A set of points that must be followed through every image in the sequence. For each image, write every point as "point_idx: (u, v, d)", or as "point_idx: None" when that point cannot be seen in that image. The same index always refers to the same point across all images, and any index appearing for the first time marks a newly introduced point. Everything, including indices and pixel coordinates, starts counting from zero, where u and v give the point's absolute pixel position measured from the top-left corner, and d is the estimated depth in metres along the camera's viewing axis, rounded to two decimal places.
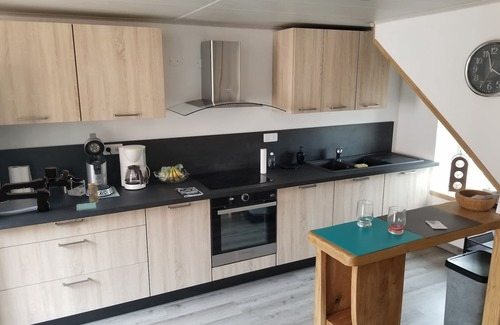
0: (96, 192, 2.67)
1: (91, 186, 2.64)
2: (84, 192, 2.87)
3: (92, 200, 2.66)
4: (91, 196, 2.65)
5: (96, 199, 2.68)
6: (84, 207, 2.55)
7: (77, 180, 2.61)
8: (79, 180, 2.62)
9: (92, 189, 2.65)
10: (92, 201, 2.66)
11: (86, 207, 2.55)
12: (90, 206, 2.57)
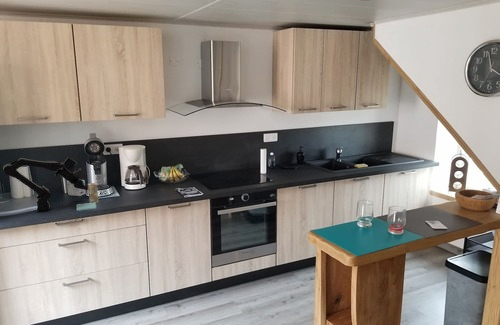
0: (96, 192, 2.67)
1: (91, 186, 2.64)
2: (84, 192, 2.87)
3: (92, 200, 2.66)
4: (91, 196, 2.65)
5: (96, 199, 2.68)
6: (84, 207, 2.55)
7: None
8: None
9: (92, 189, 2.65)
10: (92, 201, 2.66)
11: (86, 207, 2.55)
12: (90, 206, 2.57)
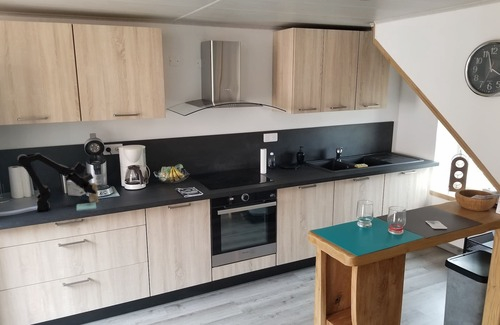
0: (96, 192, 2.67)
1: None
2: (84, 192, 2.87)
3: (92, 200, 2.66)
4: (91, 196, 2.65)
5: (96, 199, 2.68)
6: (84, 207, 2.55)
7: None
8: None
9: None
10: (92, 201, 2.66)
11: (86, 207, 2.55)
12: (90, 206, 2.57)
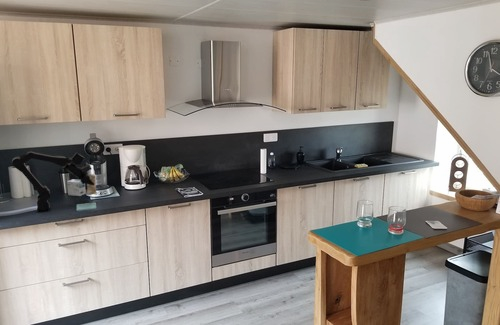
0: (94, 183, 2.63)
1: None
2: (84, 192, 2.87)
3: (90, 191, 2.62)
4: (89, 187, 2.62)
5: (94, 190, 2.64)
6: (84, 207, 2.55)
7: None
8: None
9: None
10: (90, 192, 2.62)
11: (86, 207, 2.55)
12: (90, 206, 2.57)
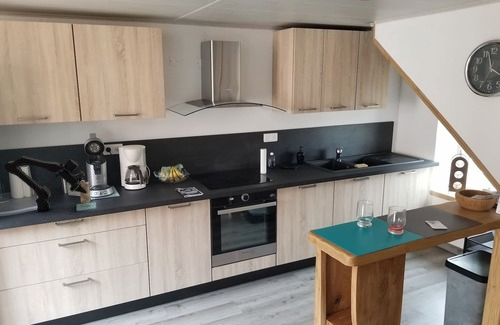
0: None
1: (81, 185, 2.53)
2: None
3: (82, 200, 2.54)
4: (81, 195, 2.54)
5: (86, 199, 2.55)
6: (84, 207, 2.55)
7: None
8: None
9: None
10: (82, 201, 2.54)
11: (86, 207, 2.55)
12: (90, 206, 2.57)
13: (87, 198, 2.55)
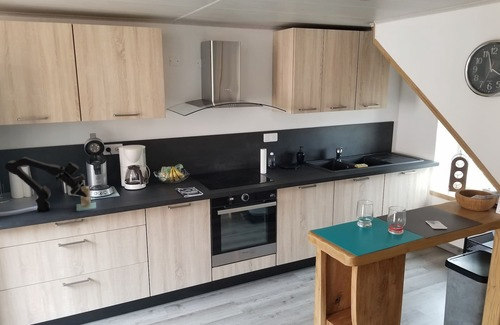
0: (87, 196, 2.55)
1: (82, 189, 2.53)
2: None
3: (83, 204, 2.55)
4: (82, 200, 2.54)
5: (87, 203, 2.56)
6: (84, 207, 2.55)
7: None
8: None
9: None
10: (83, 205, 2.55)
11: (86, 207, 2.55)
12: (90, 206, 2.57)
13: (88, 202, 2.56)
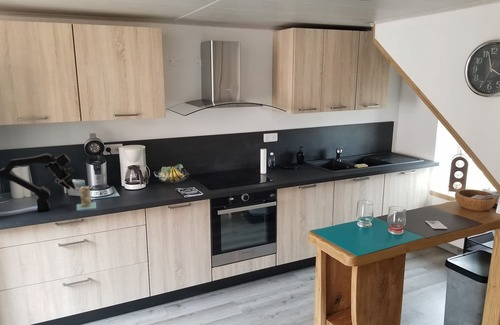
0: (87, 196, 2.55)
1: (82, 189, 2.53)
2: None
3: (83, 204, 2.55)
4: (82, 200, 2.54)
5: (87, 203, 2.56)
6: (84, 207, 2.55)
7: (65, 184, 2.58)
8: (67, 186, 2.59)
9: (83, 192, 2.54)
10: (83, 205, 2.55)
11: (86, 207, 2.55)
12: (90, 206, 2.57)
13: (88, 202, 2.56)
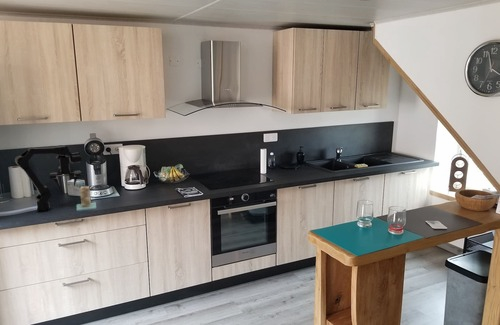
0: (87, 196, 2.55)
1: (82, 189, 2.53)
2: None
3: (83, 204, 2.55)
4: (82, 200, 2.54)
5: (87, 203, 2.56)
6: (84, 207, 2.55)
7: (58, 182, 2.57)
8: None
9: (83, 192, 2.54)
10: (83, 205, 2.55)
11: (86, 207, 2.55)
12: (90, 206, 2.57)
13: (88, 202, 2.56)
